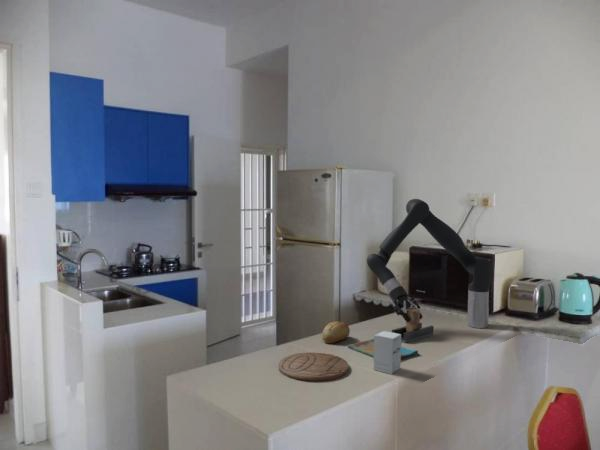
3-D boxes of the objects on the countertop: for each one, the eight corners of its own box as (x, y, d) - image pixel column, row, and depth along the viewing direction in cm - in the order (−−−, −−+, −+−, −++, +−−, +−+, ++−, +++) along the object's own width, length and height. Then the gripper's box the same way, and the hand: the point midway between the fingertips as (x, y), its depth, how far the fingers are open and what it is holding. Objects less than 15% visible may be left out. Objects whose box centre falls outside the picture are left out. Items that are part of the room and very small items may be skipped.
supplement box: (391, 374, 162) (392, 338, 161) (372, 369, 166) (373, 334, 166) (401, 368, 168) (401, 333, 167) (382, 364, 172) (383, 330, 171)
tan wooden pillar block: (412, 332, 210) (413, 308, 209) (419, 334, 207) (419, 309, 207) (405, 334, 207) (406, 310, 206) (412, 336, 204) (412, 311, 203)
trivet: (354, 361, 176) (354, 356, 176) (340, 386, 152) (340, 380, 152) (290, 354, 183) (290, 349, 183) (268, 377, 159) (268, 372, 159)
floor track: (419, 331, 216) (419, 322, 216) (433, 334, 210) (433, 326, 210) (391, 338, 204) (391, 329, 203) (405, 343, 198) (405, 333, 198)
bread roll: (355, 338, 204) (355, 320, 204) (335, 346, 192) (336, 327, 192) (337, 334, 210) (337, 316, 210) (317, 342, 199) (317, 323, 198)
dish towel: (389, 365, 172) (390, 358, 172) (346, 349, 191) (346, 343, 191) (420, 356, 182) (420, 350, 182) (376, 341, 201) (376, 336, 201)
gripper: (389, 287, 207) (410, 317, 199) (409, 283, 216) (430, 312, 208) (380, 296, 212) (400, 327, 203) (400, 293, 221) (419, 322, 212)
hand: (415, 319), depth 206 cm, fingers open, 8 cm apart
